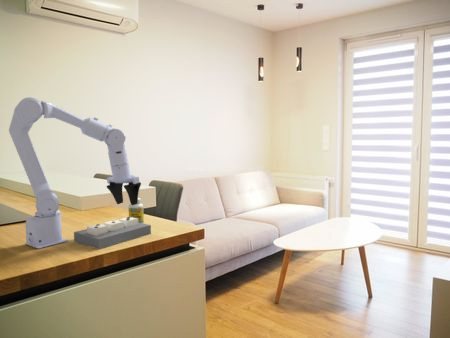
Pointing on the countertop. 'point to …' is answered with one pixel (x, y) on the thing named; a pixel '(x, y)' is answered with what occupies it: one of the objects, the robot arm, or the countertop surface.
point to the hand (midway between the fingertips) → (127, 203)
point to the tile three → (129, 221)
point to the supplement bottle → (137, 211)
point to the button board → (112, 236)
